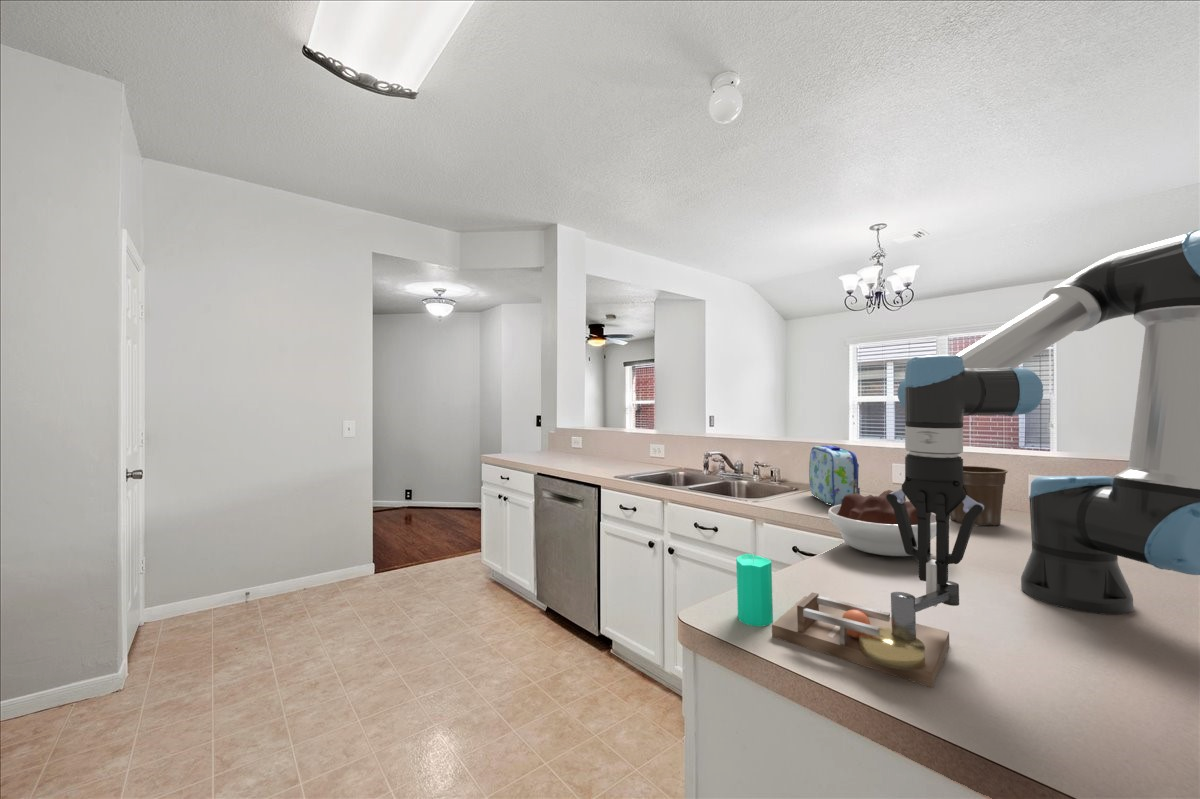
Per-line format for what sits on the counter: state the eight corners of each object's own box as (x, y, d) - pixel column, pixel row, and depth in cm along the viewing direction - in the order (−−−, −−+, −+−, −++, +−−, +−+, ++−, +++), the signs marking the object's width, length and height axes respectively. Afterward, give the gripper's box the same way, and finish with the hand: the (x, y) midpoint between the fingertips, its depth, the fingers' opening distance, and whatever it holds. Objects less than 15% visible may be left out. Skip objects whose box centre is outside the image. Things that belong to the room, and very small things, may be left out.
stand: (949, 644, 76) (948, 606, 76) (932, 687, 65) (931, 642, 65) (805, 606, 91) (804, 574, 91) (772, 636, 80) (771, 600, 80)
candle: (732, 612, 89) (730, 546, 89) (764, 610, 90) (762, 545, 90) (745, 627, 83) (743, 557, 83) (779, 625, 84) (777, 555, 84)
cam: (1014, 659, 67) (1012, 603, 67) (885, 672, 65) (884, 614, 65) (951, 625, 77) (949, 576, 77) (838, 635, 75) (836, 585, 75)
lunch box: (864, 509, 167) (862, 448, 167) (831, 509, 168) (830, 449, 168) (835, 495, 193) (833, 442, 193) (807, 495, 194) (805, 442, 194)
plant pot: (942, 513, 159) (941, 463, 159) (1006, 519, 150) (1005, 466, 150) (941, 523, 146) (940, 470, 146) (1011, 531, 137) (1010, 473, 137)
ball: (874, 635, 75) (873, 609, 75) (867, 646, 72) (866, 618, 72) (846, 628, 78) (845, 603, 78) (838, 637, 75) (837, 611, 75)
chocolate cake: (942, 575, 105) (940, 505, 105) (818, 555, 120) (816, 494, 120) (946, 546, 125) (944, 487, 125) (839, 532, 140) (838, 480, 140)
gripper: (880, 452, 78) (880, 597, 79) (980, 460, 69) (980, 624, 70) (894, 448, 84) (894, 584, 84) (989, 455, 74) (988, 608, 75)
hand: (933, 602), depth 77 cm, fingers closed
